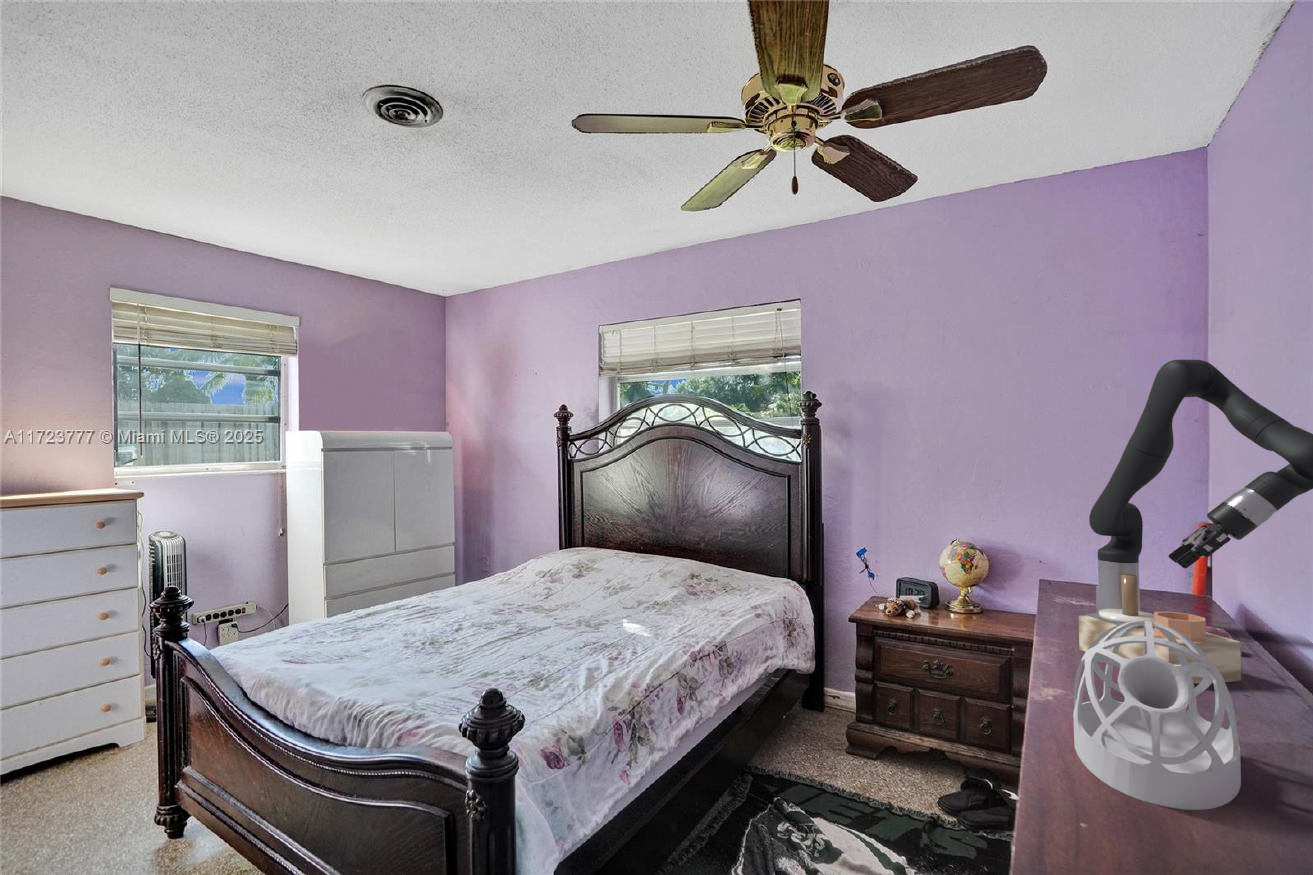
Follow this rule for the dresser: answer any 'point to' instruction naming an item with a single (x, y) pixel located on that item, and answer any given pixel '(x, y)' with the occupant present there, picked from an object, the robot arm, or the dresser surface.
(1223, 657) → the riser
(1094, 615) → the mat
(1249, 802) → the dresser surface
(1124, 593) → the lid
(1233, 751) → the lampshade
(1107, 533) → the robot arm
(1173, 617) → the bowl
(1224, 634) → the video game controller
